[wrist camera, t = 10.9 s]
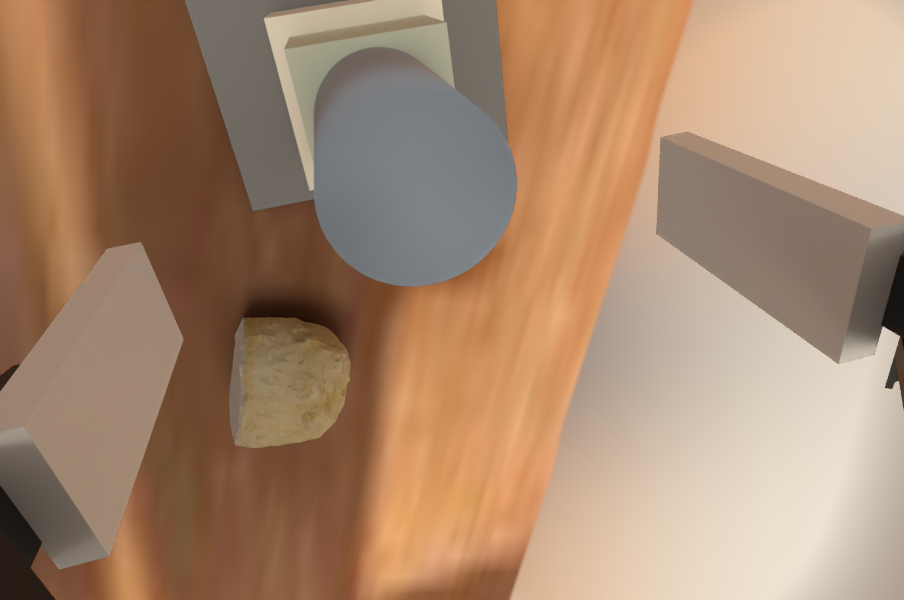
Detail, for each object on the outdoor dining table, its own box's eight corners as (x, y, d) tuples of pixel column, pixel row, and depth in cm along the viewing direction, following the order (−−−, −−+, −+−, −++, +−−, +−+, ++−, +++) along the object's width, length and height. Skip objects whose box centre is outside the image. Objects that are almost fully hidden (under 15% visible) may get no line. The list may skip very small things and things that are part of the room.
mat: (254, 206, 40) (253, 211, 39) (180, -25, 33) (176, -25, 32) (505, 157, 42) (509, 160, 41) (485, -70, 35) (489, -72, 34)
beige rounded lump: (181, 324, 36) (331, 381, 35) (260, 281, 46) (379, 325, 45) (159, 449, 39) (296, 504, 39) (237, 385, 49) (348, 428, 48)
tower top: (322, 170, 33) (324, 205, 28) (289, 36, 30) (284, 49, 25) (443, 147, 34) (466, 177, 29) (424, 14, 30) (446, 22, 25)
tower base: (310, 162, 39) (309, 190, 34) (271, 12, 34) (263, 18, 29) (442, 137, 40) (461, 161, 35) (421, -12, 35) (440, -10, 30)
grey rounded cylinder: (331, 193, 28) (340, 304, 18) (298, 59, 25) (288, 109, 15) (454, 169, 28) (523, 264, 19) (436, 36, 25) (507, 70, 16)
